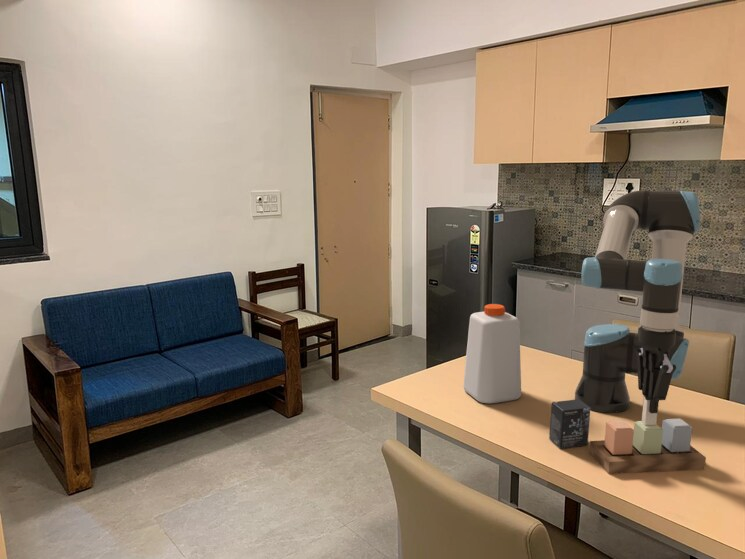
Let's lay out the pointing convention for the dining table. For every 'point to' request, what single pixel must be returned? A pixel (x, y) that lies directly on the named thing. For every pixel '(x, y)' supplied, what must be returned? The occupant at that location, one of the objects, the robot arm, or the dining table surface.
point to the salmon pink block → (618, 437)
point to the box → (569, 423)
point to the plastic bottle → (493, 356)
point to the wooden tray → (646, 460)
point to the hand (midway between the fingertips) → (648, 423)
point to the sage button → (647, 438)
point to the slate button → (676, 435)
